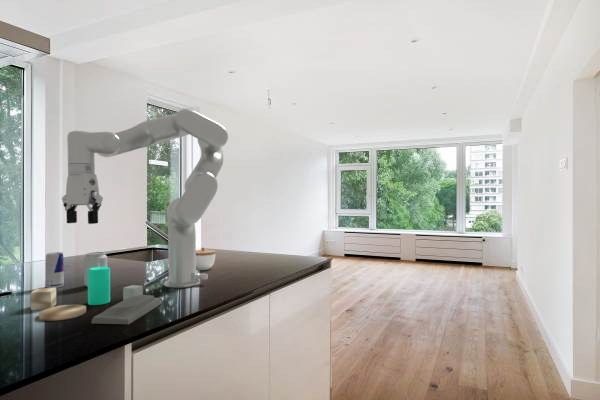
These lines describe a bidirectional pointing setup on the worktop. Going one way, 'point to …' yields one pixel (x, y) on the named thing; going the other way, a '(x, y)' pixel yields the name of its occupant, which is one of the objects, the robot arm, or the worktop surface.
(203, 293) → the worktop surface
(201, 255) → the lidded jar
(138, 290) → the grey stone block
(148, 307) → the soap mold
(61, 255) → the energy drink
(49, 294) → the maple cube
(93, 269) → the candle
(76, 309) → the disc
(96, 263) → the can
